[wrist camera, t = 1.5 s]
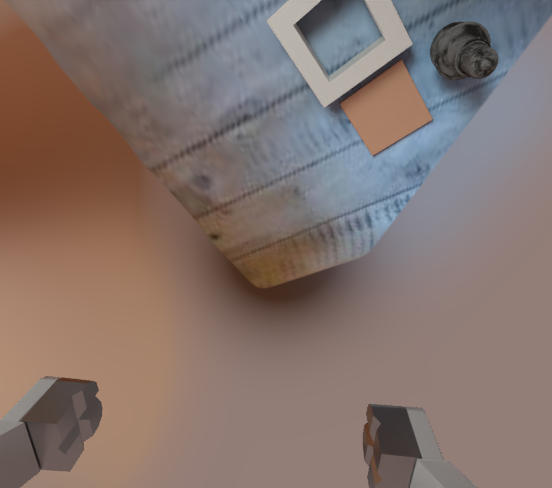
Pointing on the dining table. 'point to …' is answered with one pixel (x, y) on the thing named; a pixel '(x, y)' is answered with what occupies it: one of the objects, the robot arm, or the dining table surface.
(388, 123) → the terracotta tile
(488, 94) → the dining table surface
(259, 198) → the dining table surface
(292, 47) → the socket block
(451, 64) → the dark turned stone ornament
